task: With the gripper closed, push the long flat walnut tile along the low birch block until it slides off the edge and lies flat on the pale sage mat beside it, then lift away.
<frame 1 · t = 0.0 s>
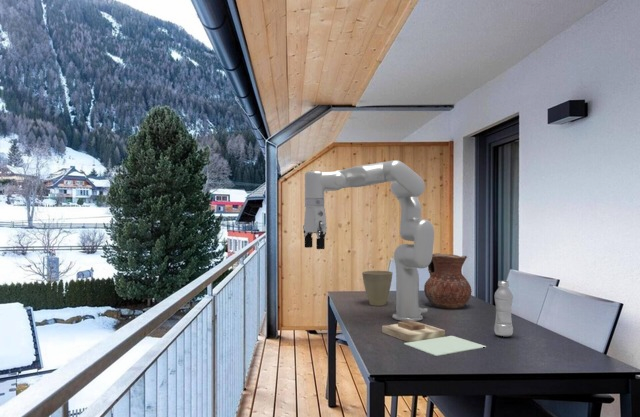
hand: (314, 248, 183), 31 cm above the table, tool pointing down, fingers open, 9 cm apart
jug: (447, 306, 233), on the table
sage mat: (444, 345, 162), on the table
plant pot: (377, 305, 236), on the table
plastic bottle: (503, 336, 175), on the table
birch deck: (412, 334, 177), on the table
walnut tile: (411, 325, 178), point 3 cm above the table, touching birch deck
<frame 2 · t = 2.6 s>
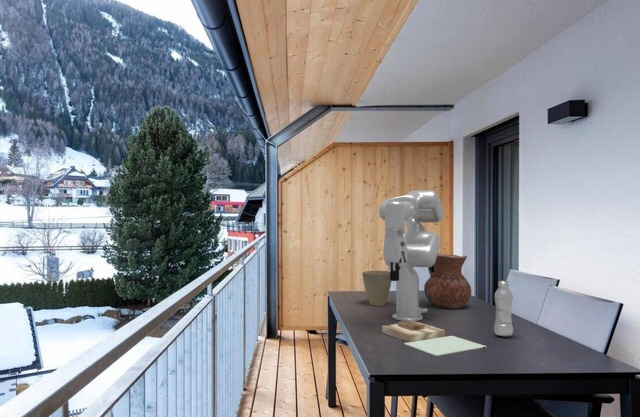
hand: (394, 280, 186), 19 cm above the table, tool pointing down, fingers closed
nothing on the table moved.
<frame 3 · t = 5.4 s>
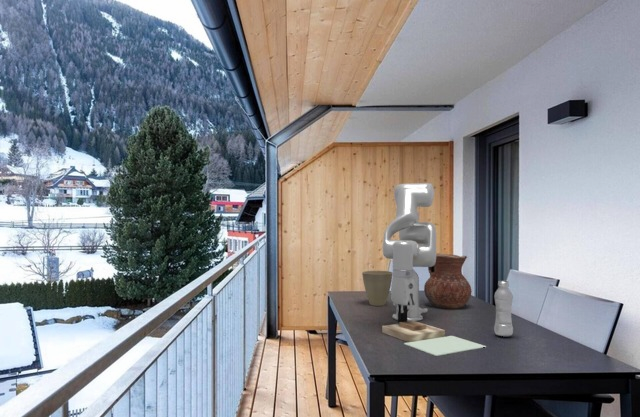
hand: (402, 322, 182), 3 cm above the table, tool pointing down, fingers closed
walnut tile: (412, 325, 177), point 3 cm above the table, touching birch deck, gripper
everything else where it was.
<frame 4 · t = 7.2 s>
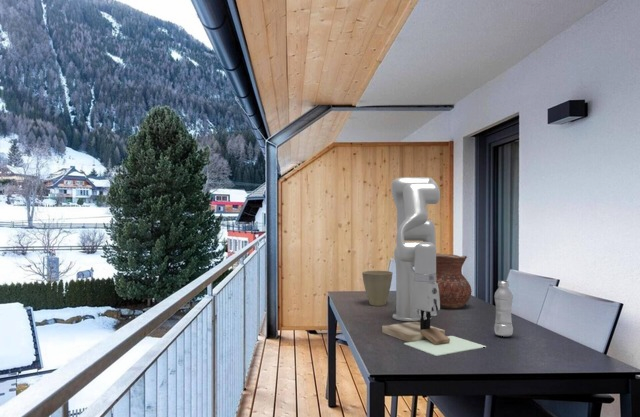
hand: (425, 329, 171), 3 cm above the table, tool pointing down, fingers closed
walnut tile: (435, 336, 166), point 2 cm above the table, tilted 16°, touching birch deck
everything else where it was.
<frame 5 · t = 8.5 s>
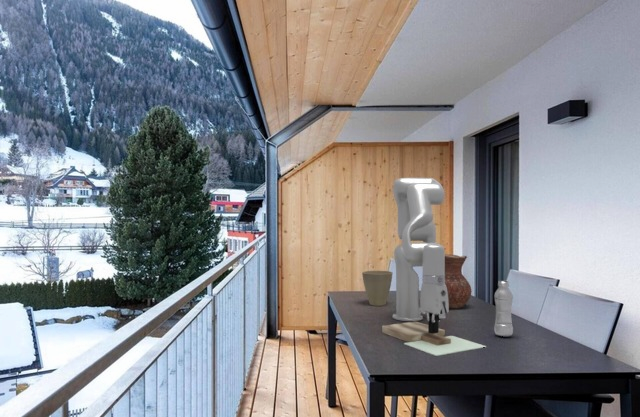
hand: (433, 332, 167), 3 cm above the table, tool pointing down, fingers closed
walnut tile: (435, 339, 166), point 1 cm above the table, touching sage mat
everything else where it was.
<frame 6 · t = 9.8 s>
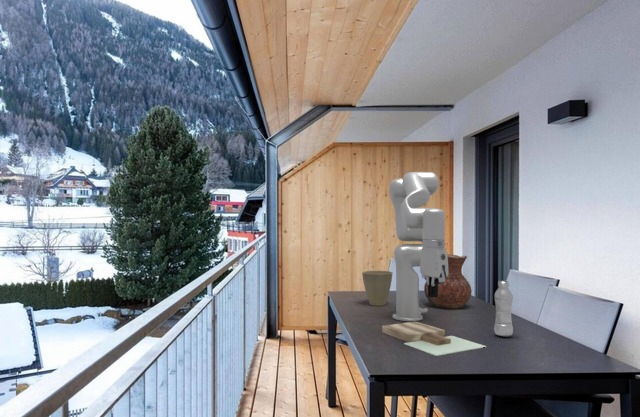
hand: (432, 296, 168), 16 cm above the table, tool pointing down, fingers closed
nothing on the table moved.
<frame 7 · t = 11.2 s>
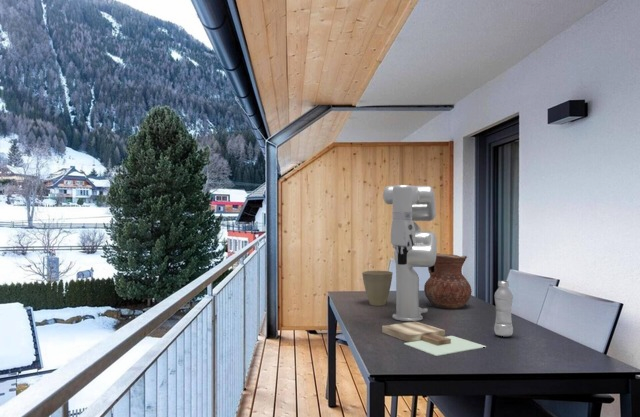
hand: (402, 264, 186), 25 cm above the table, tool pointing down, fingers closed
nothing on the table moved.
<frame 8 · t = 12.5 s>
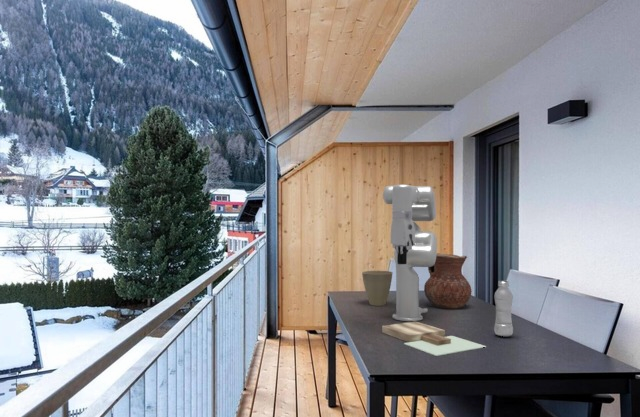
hand: (402, 263, 186), 25 cm above the table, tool pointing down, fingers closed
nothing on the table moved.
at the end: walnut tile inside the target area (4.3 cm from its centre), point 1.0 cm above the table; walnut tile touching sage mat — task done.
